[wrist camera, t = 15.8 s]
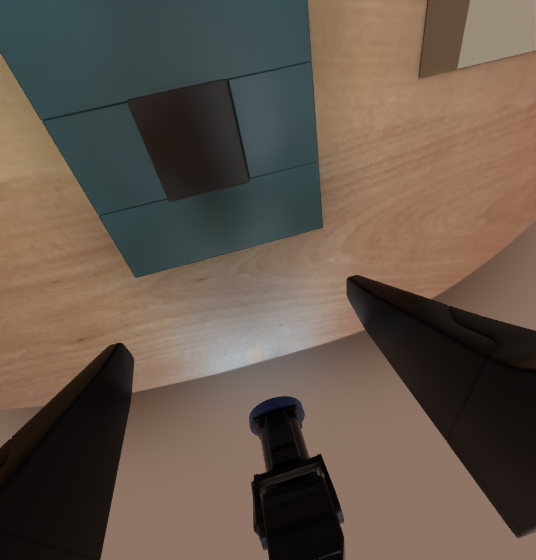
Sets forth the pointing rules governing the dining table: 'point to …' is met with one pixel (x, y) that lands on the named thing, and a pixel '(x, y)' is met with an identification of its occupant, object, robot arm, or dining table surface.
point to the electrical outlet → (476, 33)
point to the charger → (192, 138)
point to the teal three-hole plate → (163, 77)
